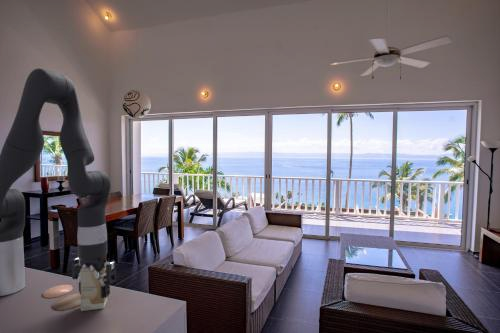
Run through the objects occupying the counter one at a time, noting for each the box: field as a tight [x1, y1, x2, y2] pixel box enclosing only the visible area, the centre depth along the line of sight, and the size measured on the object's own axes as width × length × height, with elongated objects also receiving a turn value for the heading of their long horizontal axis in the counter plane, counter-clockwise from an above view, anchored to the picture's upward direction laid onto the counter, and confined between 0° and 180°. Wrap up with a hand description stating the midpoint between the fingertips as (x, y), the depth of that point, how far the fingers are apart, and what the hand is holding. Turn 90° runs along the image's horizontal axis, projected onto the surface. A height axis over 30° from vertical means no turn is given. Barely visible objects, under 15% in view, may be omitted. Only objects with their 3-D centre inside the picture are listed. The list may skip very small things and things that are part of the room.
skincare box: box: [80, 267, 108, 312], centre depth 84 cm, size 6×4×12 cm
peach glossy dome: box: [42, 284, 74, 299], centre depth 94 cm, size 8×8×1 cm
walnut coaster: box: [52, 292, 81, 311], centre depth 87 cm, size 9×9×1 cm
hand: (94, 295), depth 84 cm, fingers closed on skincare box, 7 cm apart
